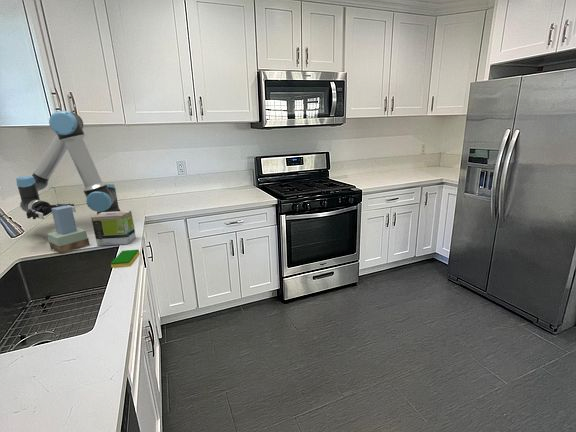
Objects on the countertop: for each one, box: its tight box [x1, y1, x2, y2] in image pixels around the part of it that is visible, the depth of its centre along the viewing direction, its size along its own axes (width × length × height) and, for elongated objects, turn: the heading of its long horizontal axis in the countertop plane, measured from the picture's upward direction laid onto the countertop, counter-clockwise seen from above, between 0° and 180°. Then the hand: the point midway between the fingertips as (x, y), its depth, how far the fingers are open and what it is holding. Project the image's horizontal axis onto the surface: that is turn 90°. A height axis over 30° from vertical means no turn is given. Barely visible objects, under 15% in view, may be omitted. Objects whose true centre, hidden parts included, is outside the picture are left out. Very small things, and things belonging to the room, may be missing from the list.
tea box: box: [90, 210, 137, 246], centre depth 156 cm, size 15×10×15 cm
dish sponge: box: [110, 249, 140, 269], centre depth 135 cm, size 7×14×2 cm, turn 9°
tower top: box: [46, 226, 89, 246], centre depth 151 cm, size 12×12×4 cm
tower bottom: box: [48, 238, 91, 254], centre depth 153 cm, size 12×12×4 cm
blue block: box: [51, 206, 77, 235], centre depth 149 cm, size 6×6×12 cm
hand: (59, 212), depth 151 cm, fingers open, 13 cm apart
